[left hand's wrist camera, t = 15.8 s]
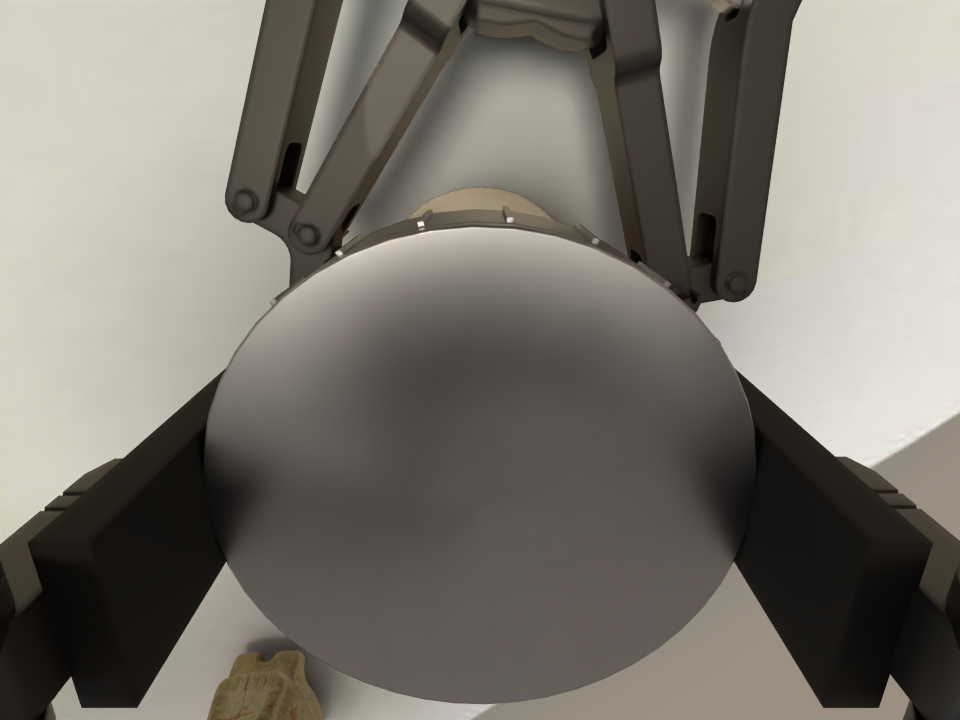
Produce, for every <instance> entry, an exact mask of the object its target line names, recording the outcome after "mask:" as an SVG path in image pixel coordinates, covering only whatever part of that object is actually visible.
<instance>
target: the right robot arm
mask: <svg viewBox="0 0 960 720" xmlns="http://www.w3.org/2000/svg"><path fill="white" fill-rule="evenodd" d="M709 1H710V3H711V5H712V6H713V8H714V9H715V10H717V11H718V12H720V13H719V16H718V19H717V22H716V25H715V29H714V33H713V37H712V42H711V49H710V56H709V65H708V75H707V86H706V96H705V106H704V117H703V127H702V137H701V147H700V158H699V168H698V178H697V189H696V199H695V209H694V219H693V230H692V240H691V250H690V256H688V257H687V251H686V245H685V238H684V231H683V225H682V218H681V212H680V205H679V198H678V192H677V185H676V178H675V172H674V165H673V159H672V152H671V145H670V139H669V132H668V126H667V119H666V112H665V106H664V99H663V92H662V86H661V79H660V64H661V59H662V47H661V39H660V32H659V25H658V18H657V12H656V5H655V0H408V2H407V4H406V7H405V9H404V13H403V16H402V20H401V22H400V24H399V26H398V28H397V30H396V32H395V34H394V36H393V37H392V39H391V41H390V43H389V45H388V46H387V48H386V50H385V52H384V54H383V55H382V57H381V59H380V61H379V63H378V64H377V66H376V68H375V70H374V72H373V74H372V75H371V77H370V79H369V81H368V83H367V84H366V86H365V88H364V90H363V92H362V93H361V95H360V97H359V99H358V101H357V102H356V104H355V106H354V108H353V110H352V111H351V113H350V115H349V117H348V119H347V121H346V122H345V124H344V126H343V128H342V130H341V131H340V133H339V135H338V137H337V139H336V140H335V142H334V144H333V146H332V148H331V149H330V151H329V153H328V155H327V157H326V158H325V160H324V162H323V164H322V166H321V168H320V169H319V171H318V173H317V175H316V177H315V178H314V180H313V182H312V184H311V186H310V187H309V189H308V191H307V193H306V195H305V194H303V193H301V192H300V191H298V190H296V185H297V181H298V177H299V173H300V169H301V165H302V161H303V157H304V154H305V150H306V146H307V142H308V138H309V134H310V130H311V126H312V122H313V118H314V114H315V110H316V106H317V102H318V98H319V94H320V90H321V86H322V82H323V78H324V74H325V70H326V66H327V62H328V58H329V54H330V50H331V46H332V42H333V38H334V34H335V30H336V26H337V22H338V18H339V14H340V10H341V6H342V2H343V0H266V4H265V8H264V13H263V18H262V22H261V27H260V32H259V37H258V41H257V46H256V51H255V56H254V60H253V65H252V70H251V75H250V79H249V84H248V89H247V93H246V98H245V103H244V108H243V112H242V117H241V122H240V127H239V131H238V136H237V141H236V146H235V150H234V155H233V160H232V164H231V169H230V174H229V179H228V183H227V188H226V193H225V203H226V206H227V208H228V211H229V212H230V213H231V214H232V215H233V217H234V218H236V219H238V220H240V221H241V222H246V223H252V222H253V223H255V224H257V225H259V226H261V227H262V228H264V229H266V230H268V231H270V232H272V233H274V234H275V235H277V236H278V237H280V238H281V239H282V240H283V241H284V243H285V244H286V246H287V247H288V250H289V253H290V258H291V266H290V285H289V287H290V286H291V285H293V284H294V283H295V282H297V281H298V280H300V279H301V278H302V277H304V278H307V277H308V276H309V275H310V274H312V273H313V272H314V271H316V270H317V269H318V268H320V267H321V266H322V265H324V264H325V263H326V262H328V261H329V260H330V259H332V258H333V257H334V256H336V254H335V252H336V251H337V250H339V249H340V248H341V247H342V238H343V237H344V236H346V234H347V233H348V232H349V231H348V230H347V229H348V228H349V226H350V224H351V223H352V221H353V219H354V218H355V216H356V214H357V212H358V211H359V209H360V207H361V206H362V204H363V202H364V201H365V199H366V197H367V196H368V194H369V192H370V190H371V189H372V187H373V185H374V184H375V182H376V180H377V179H378V177H379V175H380V173H381V172H382V170H383V168H384V167H385V165H386V163H387V162H388V160H389V158H390V156H391V155H392V153H393V151H394V150H395V148H396V146H397V145H398V143H399V141H400V140H401V138H402V136H403V134H404V133H405V131H406V129H407V128H408V126H409V124H410V123H411V121H412V119H413V117H414V116H415V114H416V112H417V111H418V109H419V107H420V106H421V104H422V102H423V101H424V99H425V97H426V95H427V94H428V92H429V90H430V89H431V87H432V85H433V84H434V82H435V80H436V78H437V77H438V75H439V73H440V72H441V70H442V68H443V67H444V65H445V64H446V62H447V61H448V60H449V59H450V57H451V56H452V55H453V53H454V51H455V50H456V48H457V47H458V45H459V43H460V41H461V40H462V38H463V36H464V35H465V33H466V31H467V30H468V28H469V26H471V27H473V28H475V29H476V34H480V35H485V36H490V37H496V38H501V39H503V38H512V37H521V36H531V37H533V38H535V39H537V40H539V41H541V42H543V43H545V44H547V45H549V46H551V47H552V48H554V49H560V50H565V51H571V52H576V53H580V52H581V51H582V50H583V49H586V52H587V57H588V62H589V68H590V73H591V77H592V81H593V84H594V86H595V88H596V90H597V93H598V98H599V103H600V109H601V114H602V119H603V125H604V130H605V135H606V141H607V146H608V151H609V157H610V162H611V167H612V173H613V178H614V183H615V189H616V194H617V200H618V205H619V210H620V216H621V221H622V226H623V232H624V237H625V242H626V248H627V253H628V258H629V259H631V260H632V261H633V262H635V263H636V264H637V263H638V262H639V261H641V262H642V263H643V264H645V265H646V266H648V267H649V268H650V269H652V270H653V271H654V272H656V273H657V274H659V275H660V276H661V277H663V278H664V279H666V280H667V281H668V282H669V283H670V284H671V285H670V286H669V287H668V288H669V289H670V290H671V291H672V292H673V293H674V294H675V295H676V296H677V297H679V298H680V299H681V300H682V301H683V302H684V303H685V304H686V305H687V306H688V307H690V308H691V309H692V310H693V311H694V312H696V311H697V310H698V308H699V306H700V304H701V303H705V302H710V301H716V300H722V299H724V300H725V301H728V302H738V301H742V300H743V299H745V298H747V297H748V296H749V295H750V294H751V293H752V291H753V290H754V287H755V285H756V280H757V273H758V266H759V259H760V252H761V245H762V237H763V230H764V223H765V216H766V209H767V202H768V194H769V187H770V180H771V173H772V166H773V158H774V151H775V144H776V137H777V130H778V123H779V115H780V108H781V101H782V94H783V87H784V80H785V72H786V65H787V58H788V51H789V44H790V36H791V29H792V22H793V19H794V17H795V15H796V13H797V10H798V8H799V6H800V4H801V2H802V0H709Z"/></svg>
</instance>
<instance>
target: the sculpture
mask: <svg viewBox="0 0 960 720" xmlns="http://www.w3.org/2000/svg"><path fill="white" fill-rule="evenodd" d="M304 665H305V657H304V655H303V653H302V652H301V651H299V650H283V651H279V652H277V653H276V654H275V656H274V657H273V658H272V659H271V660H269V661H268V662H265V657H264V655H263V654H261V653H259V652H253V653H246V654H241V655H240V656H238V657H237V658H236V660H235V663H234V665H233V668H232V670H231V673H230V676H229V678H227V679H225V680H223V681H222V682H221V683H220V684H219V686H218V688H217V690H216V693H215V696H214V699H213V701H212V705H211V708H210V712H209V715H208V719H207V720H324V716H323V712H322V709H321V706H320V703H319V701H318V699H317V697H316V695H315V693H314V691H313V690H312V689H311V688H310V686H309V684H308V683H307V681H306V678H305V672H304Z"/></svg>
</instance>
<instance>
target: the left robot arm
mask: <svg viewBox="0 0 960 720" xmlns="http://www.w3.org/2000/svg"><path fill="white" fill-rule="evenodd" d="M734 369H735V368H734ZM225 370H226V369H225ZM225 370H223V371H222V372H221V373H220V374H219V375H218V376H217V377H215V378H214V379H213V380H212V381H211V382H210V383H209V384H207V385H206V386H205V387H204V388H203V389H202V390H201V391H200V392H198V393H197V394H196V395H195V396H194V397H193V398H192V399H190V400H189V401H188V402H187V403H186V404H185V405H184V406H182V407H181V408H180V409H179V410H178V411H177V412H176V413H174V414H173V415H172V416H171V417H170V418H169V419H168V420H167V421H165V422H164V423H163V424H162V425H161V426H160V427H159V428H157V429H156V430H155V431H154V432H153V433H152V434H151V435H149V436H148V437H147V438H146V439H145V440H144V441H143V442H141V443H140V444H139V445H138V446H137V447H136V448H135V449H133V450H132V451H131V452H130V453H129V454H128V455H127V456H126V457H124V458H123V459H113V460H111V461H109V462H107V463H105V464H104V465H102V466H100V467H98V468H96V469H94V470H92V471H90V472H88V473H86V474H84V475H83V476H82V477H81V478H80V479H78V480H77V481H76V482H75V483H74V484H72V485H71V486H70V487H69V488H68V489H66V490H65V491H64V492H63V496H58V497H57V498H55V499H54V500H53V501H52V502H51V503H49V504H48V505H47V506H46V507H45V511H40V512H39V513H37V514H36V515H35V516H34V517H33V518H31V519H30V520H29V521H28V522H27V523H25V524H24V525H23V526H22V527H21V528H19V529H18V530H17V531H16V532H15V533H13V534H12V535H11V536H10V537H9V538H7V539H6V540H5V541H4V542H3V543H1V544H0V720H56V716H55V712H54V710H53V707H52V704H51V701H52V700H53V699H54V698H55V696H56V695H57V694H58V692H59V691H60V690H61V688H62V687H63V686H64V685H65V683H66V682H67V681H68V679H69V678H70V677H72V680H73V683H74V686H75V689H76V692H77V695H78V698H79V701H80V704H81V707H82V708H137V707H138V705H139V704H140V702H141V700H142V699H143V697H144V696H145V694H146V692H147V691H148V689H149V687H150V686H151V684H152V682H153V681H154V679H155V677H156V676H157V674H158V673H159V671H160V669H161V668H162V666H163V664H164V663H165V661H166V659H167V658H168V656H169V655H170V653H171V651H172V650H173V648H174V646H175V645H176V643H177V641H178V640H179V638H180V636H181V635H182V633H183V632H184V630H185V628H186V627H187V625H188V623H189V622H190V620H191V618H192V617H193V615H194V613H195V612H196V610H197V609H198V607H199V605H200V604H201V602H202V600H203V599H204V597H205V595H206V594H207V592H208V591H209V589H210V587H211V586H212V584H213V582H214V581H215V579H216V577H217V576H218V574H219V572H220V571H221V569H222V568H223V566H224V564H225V563H226V559H225V557H224V555H223V553H222V551H221V548H220V546H219V544H218V542H217V540H216V537H215V533H214V530H213V525H212V520H211V516H210V511H209V506H208V500H207V495H206V489H205V484H204V478H203V445H204V439H205V433H206V427H207V421H208V415H209V412H210V409H211V406H212V403H213V400H214V397H215V394H216V391H217V388H218V385H219V382H220V380H221V378H222V376H223V374H224V372H225ZM735 370H736V369H735ZM736 373H737V375H738V378H739V380H740V383H741V385H742V388H743V390H744V393H745V395H746V398H747V400H748V403H749V408H750V412H751V417H752V421H753V426H754V430H755V435H756V450H757V465H758V469H757V480H756V486H755V492H754V497H753V503H752V508H751V512H750V517H749V522H748V527H747V531H746V534H745V537H744V539H743V542H742V544H741V546H740V549H739V551H738V554H737V556H736V558H735V560H734V562H735V564H736V565H737V567H738V569H739V570H740V572H741V574H742V575H743V577H744V578H745V580H746V582H747V583H748V585H749V587H750V588H751V590H752V591H753V593H754V595H755V596H756V598H757V600H758V601H759V603H760V605H761V606H762V608H763V610H764V611H765V613H766V614H767V616H768V618H769V619H770V621H771V623H772V624H773V626H774V628H775V629H776V631H777V633H778V634H779V636H780V637H781V639H782V641H783V642H784V644H785V646H786V647H787V649H788V650H789V652H790V654H791V655H792V657H793V659H794V660H795V662H796V664H797V665H798V667H799V669H800V670H801V672H802V673H803V675H804V677H805V678H806V680H807V682H808V683H809V685H810V687H811V688H812V690H813V692H814V693H815V695H816V697H817V698H818V700H819V701H820V703H821V705H822V706H823V708H879V706H880V702H881V700H882V697H883V694H884V690H885V687H886V684H887V681H888V678H889V675H890V674H891V676H892V677H893V678H894V679H895V681H896V682H897V683H898V685H899V686H900V687H901V688H902V690H903V691H904V692H905V694H906V695H907V696H908V697H909V699H910V701H909V704H908V707H907V710H906V712H905V715H904V718H903V720H960V541H959V540H958V539H957V538H955V537H954V536H953V535H952V534H951V533H949V532H948V531H947V530H946V529H945V528H943V527H942V526H941V525H940V524H939V523H937V522H936V521H935V520H934V519H932V518H931V517H930V516H929V515H928V514H926V513H925V512H924V511H923V510H921V509H917V508H916V504H914V503H913V502H912V501H911V500H909V499H908V498H907V497H906V496H905V495H903V494H899V493H898V490H897V489H896V488H895V487H894V486H893V485H891V484H890V483H889V482H888V481H886V480H885V479H884V478H883V477H882V476H880V475H879V474H878V473H877V472H875V471H873V470H871V469H869V468H867V467H865V466H863V465H861V464H859V463H857V462H856V461H854V460H852V459H850V458H848V457H835V456H834V455H833V454H831V453H830V452H829V451H828V450H827V449H826V448H825V447H823V446H822V445H821V444H820V443H819V442H818V441H817V440H816V439H814V438H813V437H812V436H811V435H810V434H809V433H808V432H806V431H805V430H804V429H803V428H802V427H801V426H800V425H798V424H797V423H796V422H795V421H794V420H793V419H792V418H790V417H789V416H788V415H787V414H786V413H785V412H784V411H782V410H781V409H780V408H779V407H778V406H777V405H776V404H775V403H773V402H772V401H771V400H770V399H769V398H768V397H767V396H765V395H764V394H763V393H762V392H761V391H760V390H759V389H757V388H756V387H755V386H754V385H753V384H752V383H751V382H749V381H748V380H747V379H746V378H745V377H744V376H743V375H742V374H740V373H739V372H738V371H737V370H736Z"/></svg>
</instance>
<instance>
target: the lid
mask: <svg viewBox="0 0 960 720" xmlns="http://www.w3.org/2000/svg"><path fill="white" fill-rule="evenodd" d="M335 254H336V256H334V257H333V258H332V259H330V260H329V261H328V262H326V263H325V264H324V265H322V266H321V267H320V268H318V269H317V270H316V271H314V272H313V273H312V274H310V275H309V276H308V277H307V278H304V277H302V278H301V279H300V280H298V281H297V282H295V283H294V284H293V285H291V286H290V287H289V288H287V289H286V290H285V291H283V292H282V293H281V294H279V295H278V296H277V297H275V298H274V299H273V300H272V301H271V302H270V304H271V305H273V306H272V307H271V308H270V309H269V310H268V311H267V312H266V313H265V314H264V315H263V316H262V317H261V318H260V319H259V320H258V321H257V322H256V324H255V325H254V326H253V328H252V329H251V330H250V332H249V333H248V335H247V336H246V337H245V339H244V340H243V341H242V343H241V344H240V345H239V347H238V348H237V350H236V351H235V353H234V355H233V357H232V359H231V360H230V362H229V364H228V366H227V368H226V370H225V372H224V374H223V376H222V378H221V380H220V382H219V385H218V388H217V391H216V394H215V397H214V400H213V403H212V406H211V409H210V412H209V415H208V421H207V427H206V433H205V439H204V445H203V478H204V484H205V489H206V495H207V500H208V506H209V511H210V516H211V520H212V525H213V530H214V533H215V537H216V540H217V542H218V544H219V546H220V548H221V551H222V553H223V555H224V557H225V559H226V561H227V564H228V566H229V568H230V569H231V571H232V572H233V574H234V576H235V577H236V579H237V580H238V582H239V583H240V585H241V587H242V588H243V590H244V591H245V593H246V594H247V595H248V596H249V598H250V599H251V600H252V601H253V602H254V604H255V605H256V606H257V607H258V608H259V610H260V611H261V612H262V613H263V614H264V616H265V617H266V618H268V619H269V620H270V621H271V622H272V623H273V624H274V625H275V626H276V627H277V628H278V629H279V630H280V631H281V632H282V633H284V634H285V635H286V636H287V637H288V638H289V639H291V640H292V641H293V642H295V643H296V644H297V645H299V646H300V647H301V648H303V649H304V650H305V651H307V652H308V653H310V654H311V655H312V656H314V657H316V658H318V659H319V660H321V661H323V662H324V663H326V664H328V665H330V666H331V667H333V668H335V669H336V670H338V671H340V672H343V673H345V674H347V675H349V676H352V677H354V678H356V679H358V680H360V681H363V682H365V683H368V684H371V685H374V686H377V687H380V688H383V689H386V690H389V691H392V692H395V693H399V694H403V695H408V696H412V697H417V698H421V699H426V700H434V701H442V702H450V703H466V704H495V703H510V702H520V701H526V700H532V699H539V698H545V697H549V696H553V695H557V694H561V693H564V692H568V691H572V690H576V689H578V688H581V687H584V686H587V685H589V684H592V683H595V682H597V681H600V680H602V679H605V678H607V677H609V676H611V675H613V674H615V673H617V672H619V671H621V670H623V669H625V668H627V667H629V666H631V665H633V664H635V663H636V662H638V661H639V660H641V659H642V658H644V657H646V656H647V655H649V654H650V653H652V652H653V651H655V650H657V649H658V648H659V647H661V646H662V645H663V644H664V643H665V642H667V641H668V640H669V639H670V638H672V637H673V636H674V635H675V634H677V633H678V632H679V631H680V630H682V629H683V627H684V626H685V625H686V624H687V623H688V622H689V621H690V620H691V619H692V618H693V617H694V616H695V615H696V614H697V613H698V612H699V611H700V610H701V609H702V608H703V607H704V605H705V604H706V603H707V601H708V600H709V599H710V598H711V596H712V595H713V594H714V592H715V591H716V590H717V588H718V587H719V586H720V584H721V583H722V581H723V579H724V578H725V576H726V574H727V572H728V571H729V569H730V567H731V565H732V564H733V562H734V560H735V558H736V556H737V554H738V551H739V549H740V546H741V544H742V542H743V539H744V537H745V534H746V531H747V527H748V522H749V517H750V512H751V508H752V503H753V497H754V492H755V486H756V480H757V469H758V465H757V450H756V435H755V430H754V426H753V421H752V417H751V412H750V408H749V403H748V400H747V398H746V395H745V393H744V390H743V388H742V385H741V383H740V380H739V378H738V375H737V373H736V370H735V369H734V367H733V365H732V364H731V362H730V360H729V359H728V357H727V355H726V353H725V352H724V350H723V348H722V347H721V343H720V341H719V340H718V339H717V338H716V337H715V336H714V335H713V334H712V333H711V331H710V330H709V329H708V328H707V327H706V325H705V324H704V323H703V322H702V320H701V319H700V318H699V317H698V316H697V314H696V313H695V312H694V311H693V310H692V309H691V308H690V307H688V306H687V305H686V304H685V303H684V302H683V301H682V300H681V299H680V298H679V297H677V296H676V295H675V294H674V293H673V292H672V291H671V290H670V289H669V288H668V287H669V286H670V285H671V284H670V283H669V282H668V281H667V280H666V279H664V278H663V277H661V276H660V275H659V274H657V273H656V272H654V271H653V270H652V269H650V268H649V267H648V266H646V265H645V264H643V263H642V262H641V261H639V262H638V263H637V264H636V263H635V262H633V261H632V260H631V259H629V258H628V257H626V256H625V255H623V254H622V253H620V252H619V251H617V250H616V249H614V248H613V247H611V246H610V245H608V244H607V243H605V242H604V241H602V240H600V239H598V238H597V237H596V236H594V235H593V234H592V233H591V232H589V231H588V230H587V229H586V228H584V227H583V226H582V225H579V224H576V226H575V227H573V226H569V225H566V224H563V223H560V222H557V221H554V220H551V219H548V218H545V217H542V216H536V215H531V214H525V213H519V212H514V211H511V210H510V208H509V206H503V209H502V210H485V209H469V210H458V211H447V212H438V213H434V214H433V211H432V209H431V210H426V212H425V213H424V214H423V215H422V216H421V217H417V218H412V219H408V220H405V221H402V222H399V223H397V224H394V225H392V226H389V227H386V228H384V229H381V230H378V231H376V232H374V233H372V234H370V235H368V236H366V237H365V238H363V237H362V235H361V234H360V235H358V236H356V237H355V238H353V239H352V240H351V241H349V242H348V243H347V244H345V245H344V246H343V247H341V248H340V249H339V250H337V251H336V252H335Z"/></svg>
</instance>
